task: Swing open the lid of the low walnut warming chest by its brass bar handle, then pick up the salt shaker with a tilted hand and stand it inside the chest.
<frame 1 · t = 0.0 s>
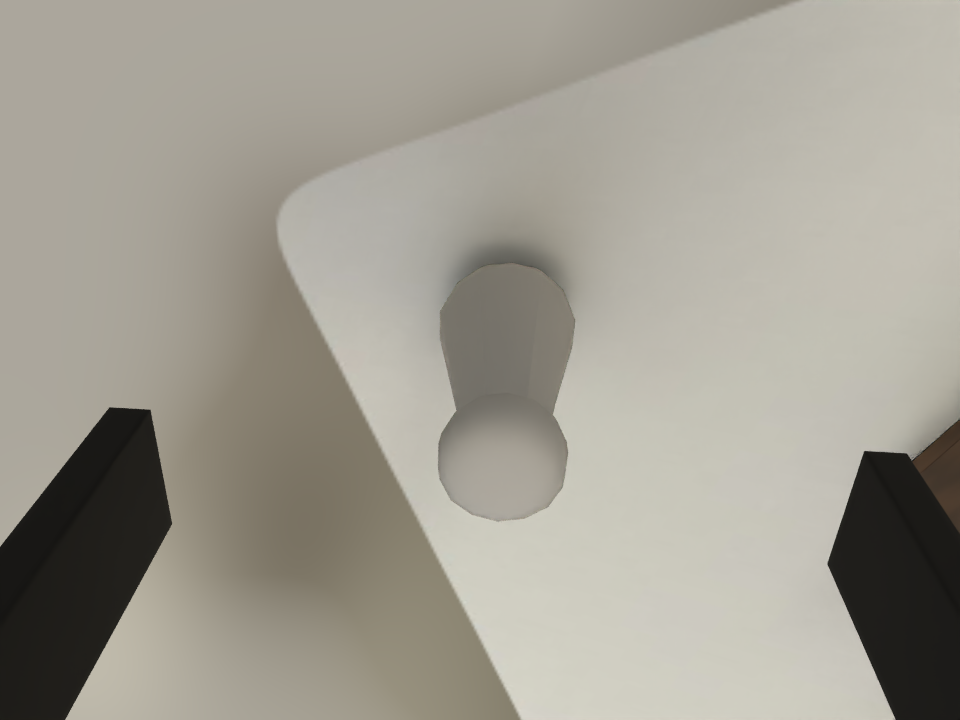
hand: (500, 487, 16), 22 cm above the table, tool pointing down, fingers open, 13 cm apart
salt shaker: (508, 301, 38), on the table
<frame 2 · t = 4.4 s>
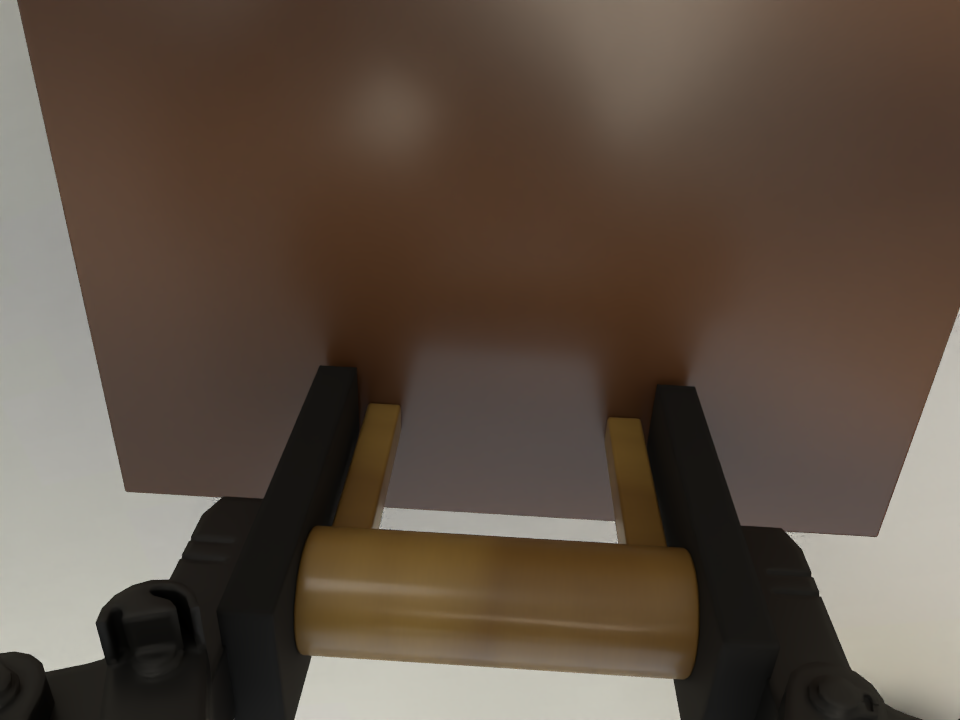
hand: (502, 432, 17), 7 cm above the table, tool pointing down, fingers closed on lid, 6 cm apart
lid: (526, 82, 12), point 9 cm above the table, hinge at 0.0°, touching gripper
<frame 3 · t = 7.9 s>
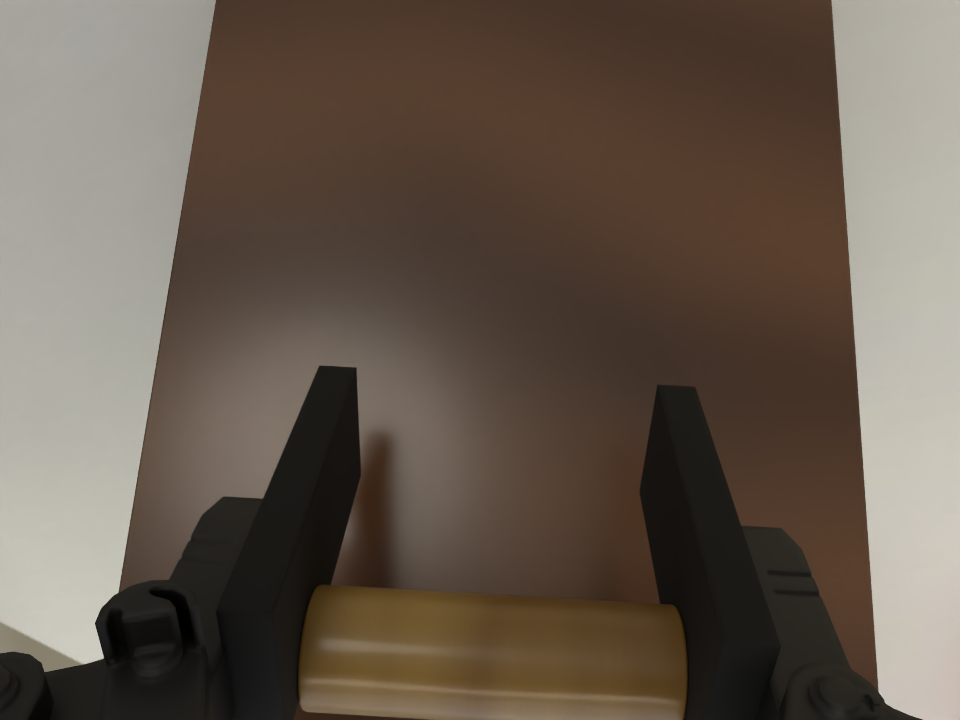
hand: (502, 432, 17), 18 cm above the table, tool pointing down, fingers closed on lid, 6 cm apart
lid: (509, 283, 18), point 16 cm above the table, hinge at 45.9°, touching gripper
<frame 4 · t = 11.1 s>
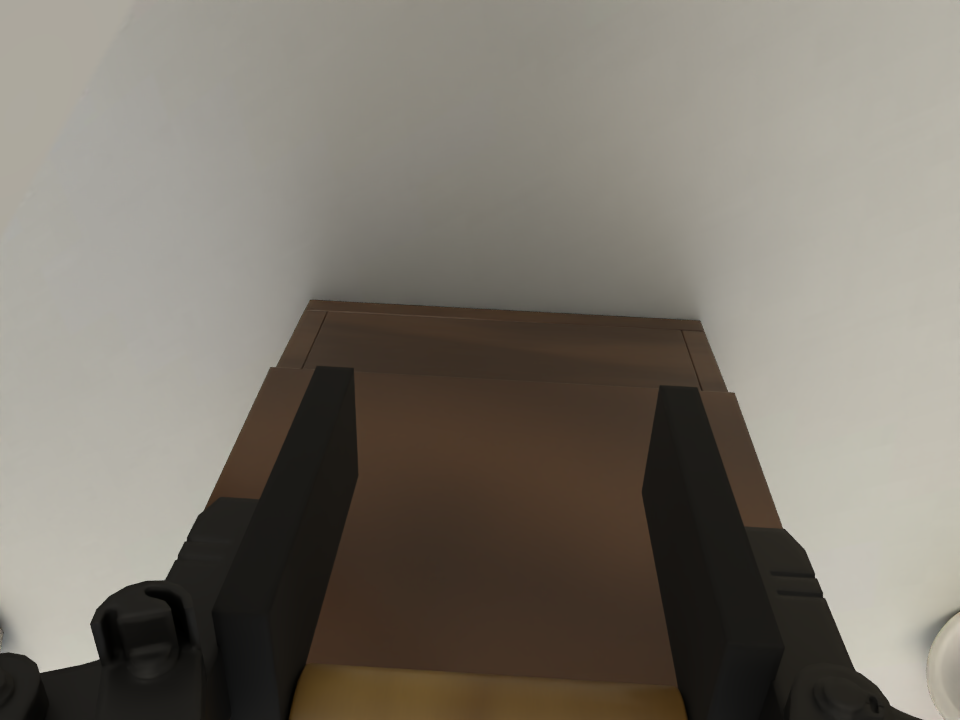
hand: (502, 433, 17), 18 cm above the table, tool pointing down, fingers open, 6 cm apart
lid: (495, 519, 21), point 17 cm above the table, hinge at 87.0°
wooden box: (494, 482, 41), on the table
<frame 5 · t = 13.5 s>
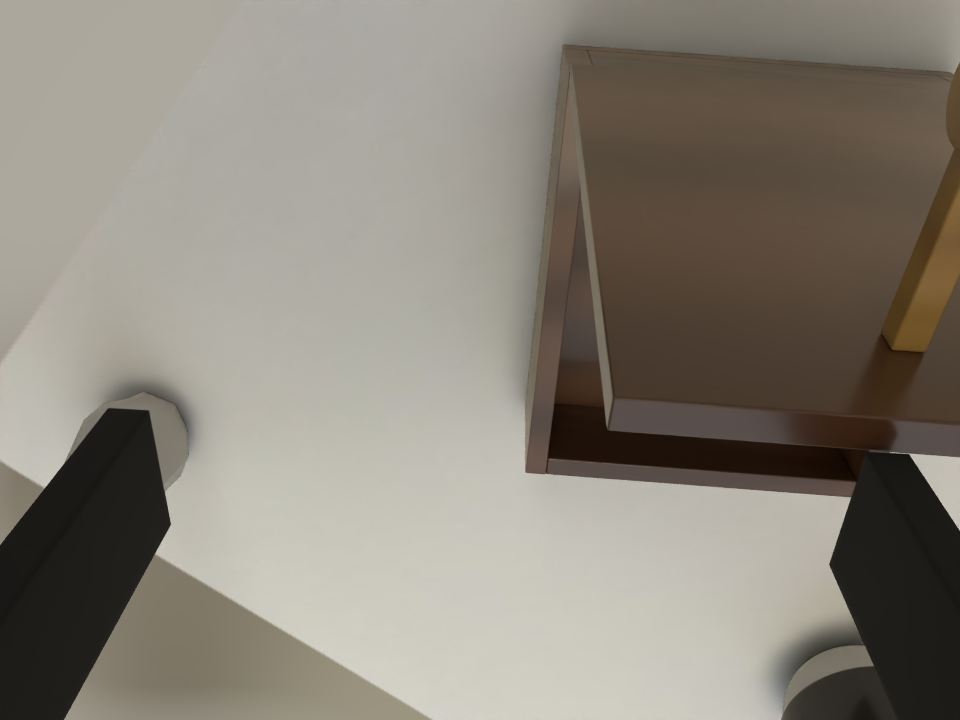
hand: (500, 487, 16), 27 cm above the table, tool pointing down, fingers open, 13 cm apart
black tumbler egg: (841, 672, 56), on the table
lid: (931, 99, 21), point 17 cm above the table, hinge at 84.1°
salt shaker: (152, 421, 48), on the table
wooden box: (713, 258, 42), on the table
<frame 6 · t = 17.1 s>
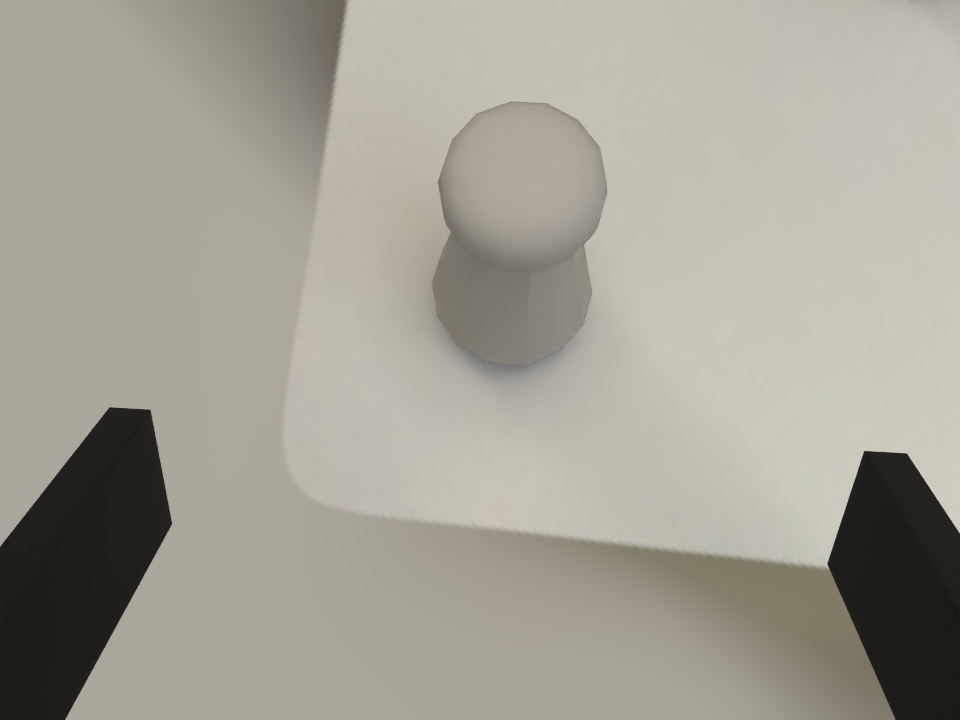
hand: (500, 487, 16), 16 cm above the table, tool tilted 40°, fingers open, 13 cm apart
salt shaker: (510, 305, 33), on the table
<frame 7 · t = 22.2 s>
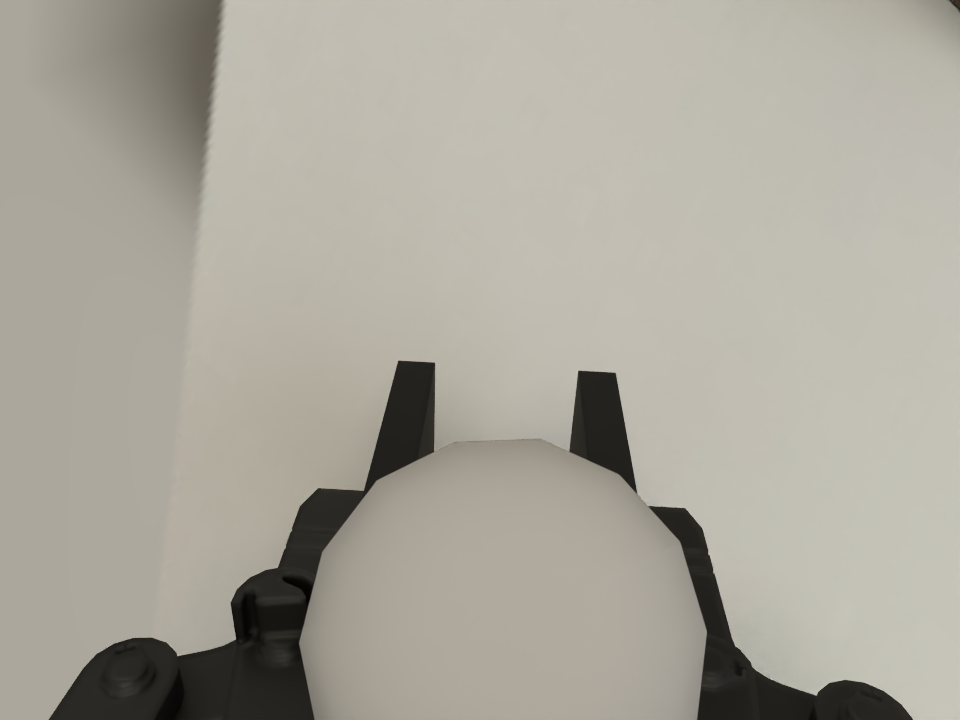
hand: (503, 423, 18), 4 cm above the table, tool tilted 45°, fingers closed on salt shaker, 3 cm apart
salt shaker: (493, 608, 21), on the table, touching gripper
when the fingers open (5 cm above the table, at t = 32.4 s): salt shaker stays where it is, resting on wooden box.
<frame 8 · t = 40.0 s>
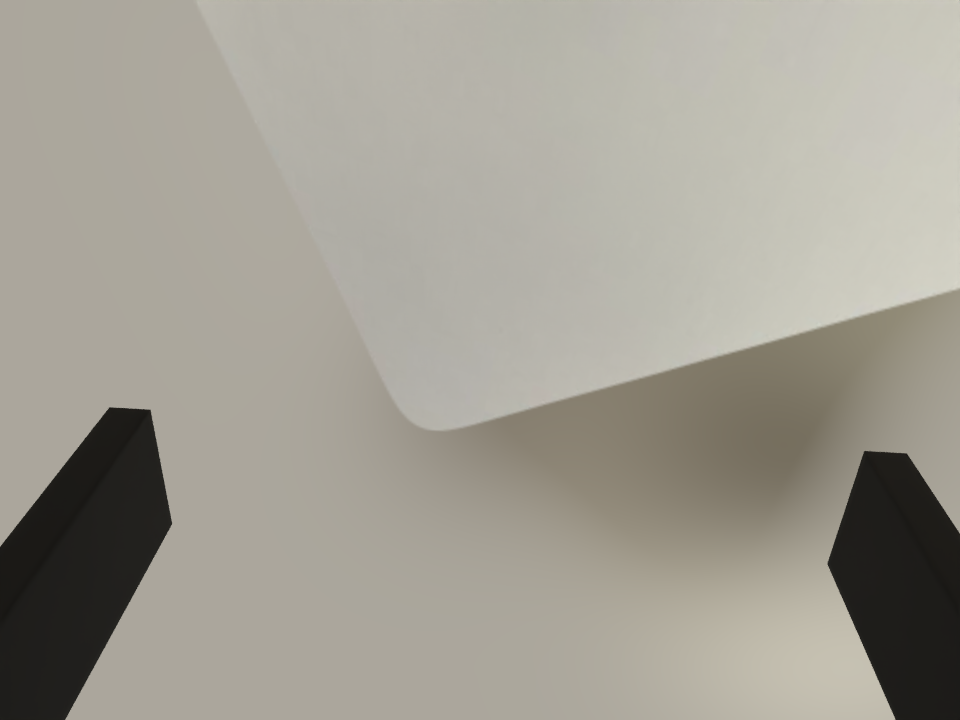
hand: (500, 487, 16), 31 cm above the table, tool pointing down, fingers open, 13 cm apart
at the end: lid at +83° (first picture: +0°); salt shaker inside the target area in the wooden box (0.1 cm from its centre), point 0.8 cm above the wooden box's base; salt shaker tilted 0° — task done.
